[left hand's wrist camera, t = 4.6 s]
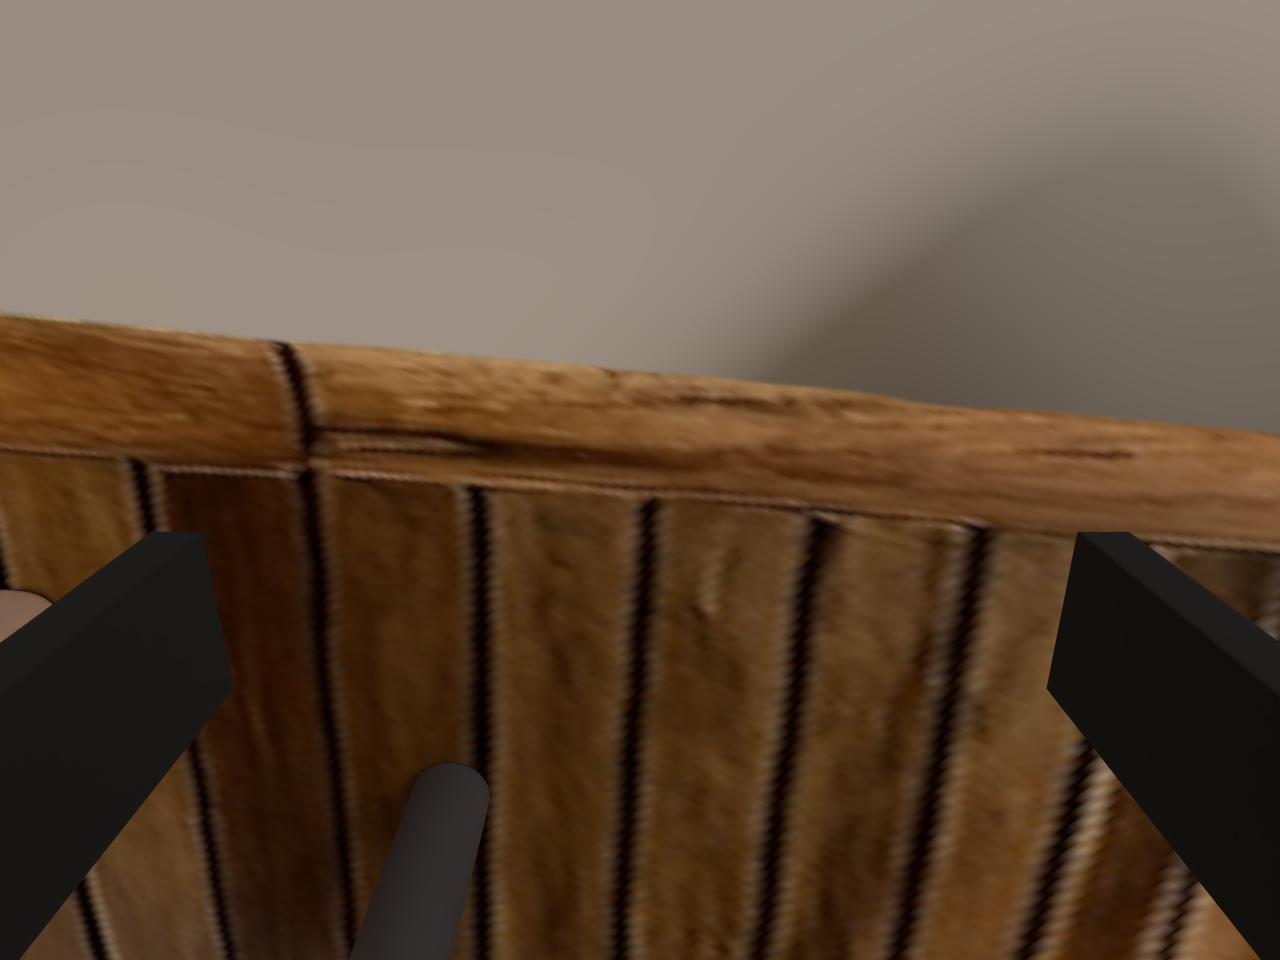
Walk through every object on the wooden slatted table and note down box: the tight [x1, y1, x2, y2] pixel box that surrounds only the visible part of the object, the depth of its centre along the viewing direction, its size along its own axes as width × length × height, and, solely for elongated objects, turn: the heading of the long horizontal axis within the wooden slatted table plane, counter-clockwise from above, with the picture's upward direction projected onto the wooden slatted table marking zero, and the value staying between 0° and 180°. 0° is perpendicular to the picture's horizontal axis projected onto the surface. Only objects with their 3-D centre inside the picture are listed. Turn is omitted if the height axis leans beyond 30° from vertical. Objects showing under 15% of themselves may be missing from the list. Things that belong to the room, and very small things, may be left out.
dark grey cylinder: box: [349, 763, 490, 960], centre depth 41 cm, size 4×4×16 cm
